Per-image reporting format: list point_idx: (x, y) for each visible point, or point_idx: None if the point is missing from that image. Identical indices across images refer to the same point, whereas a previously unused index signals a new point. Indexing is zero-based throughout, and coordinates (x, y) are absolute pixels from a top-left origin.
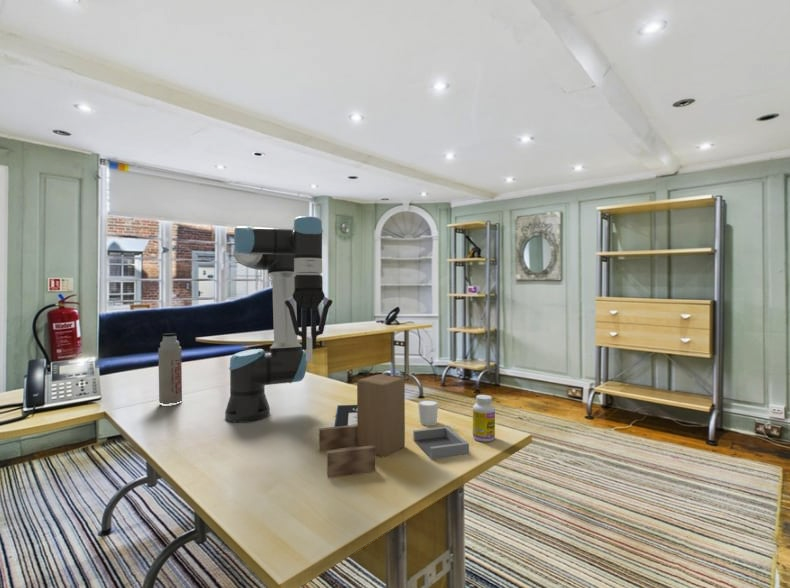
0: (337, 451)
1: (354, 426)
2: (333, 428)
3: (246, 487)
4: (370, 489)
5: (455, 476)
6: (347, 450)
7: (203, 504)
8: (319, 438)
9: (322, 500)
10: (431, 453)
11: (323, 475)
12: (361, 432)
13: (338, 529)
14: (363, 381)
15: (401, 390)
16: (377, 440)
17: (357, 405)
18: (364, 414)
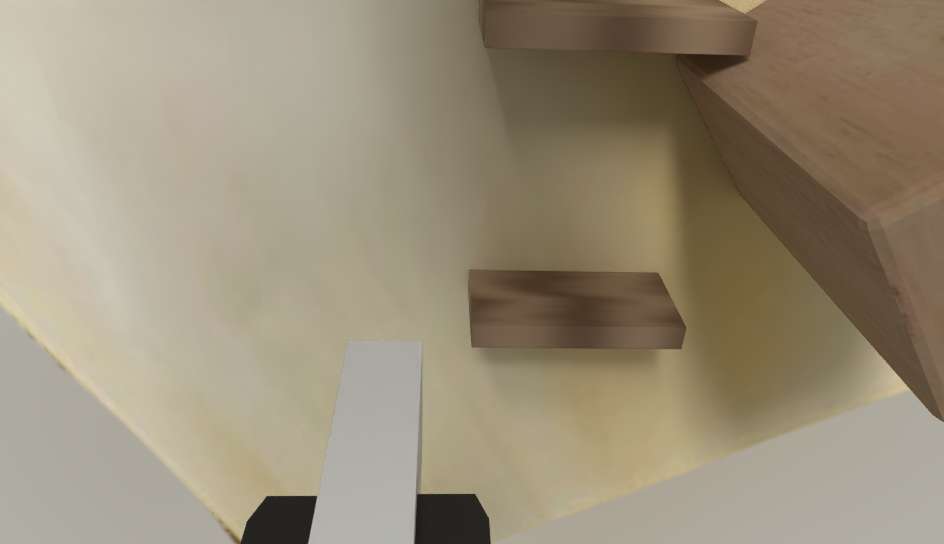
0: (515, 341)
1: (706, 53)
2: (573, 44)
3: (164, 273)
4: (585, 395)
5: (880, 398)
6: (558, 345)
7: (45, 337)
8: (482, 20)
9: (427, 410)
10: None
11: (455, 268)
12: (716, 114)
13: None
14: (888, 281)
15: None
16: (754, 199)
17: (767, 140)
18: (768, 178)
